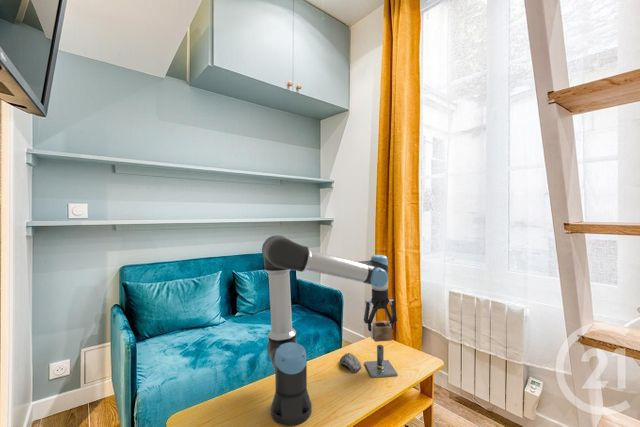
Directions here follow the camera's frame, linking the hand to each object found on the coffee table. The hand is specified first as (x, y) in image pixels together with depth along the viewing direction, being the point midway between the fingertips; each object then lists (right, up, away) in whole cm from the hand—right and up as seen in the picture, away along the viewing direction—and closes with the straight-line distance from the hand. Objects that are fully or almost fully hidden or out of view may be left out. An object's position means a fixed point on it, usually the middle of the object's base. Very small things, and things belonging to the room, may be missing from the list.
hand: (380, 336), depth 138 cm
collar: (0, 0, 0) cm, 0 cm away
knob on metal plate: (0, -15, 0) cm, 15 cm away
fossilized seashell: (-14, -16, +4) cm, 22 cm away
